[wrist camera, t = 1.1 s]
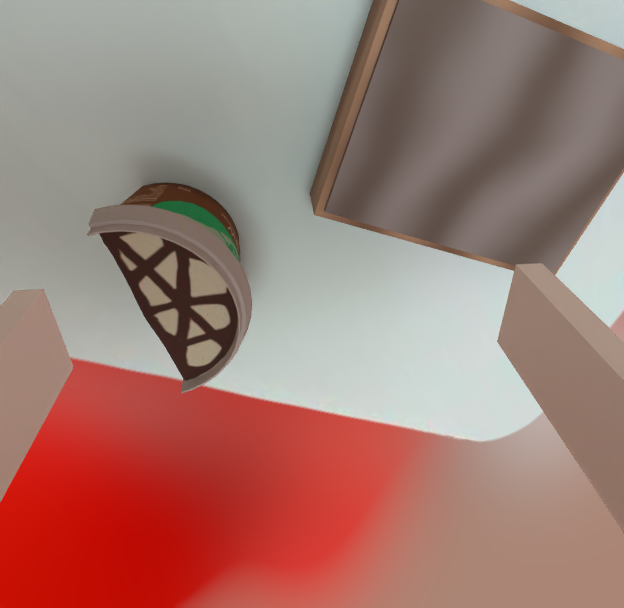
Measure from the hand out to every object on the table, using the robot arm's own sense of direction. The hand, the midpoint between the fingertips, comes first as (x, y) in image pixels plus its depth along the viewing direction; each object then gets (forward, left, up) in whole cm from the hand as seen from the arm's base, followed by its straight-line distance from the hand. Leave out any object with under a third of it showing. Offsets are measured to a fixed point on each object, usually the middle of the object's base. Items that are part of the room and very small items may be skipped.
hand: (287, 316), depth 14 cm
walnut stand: (+12, +4, -21) cm, 25 cm away
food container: (-3, -8, -21) cm, 23 cm away
